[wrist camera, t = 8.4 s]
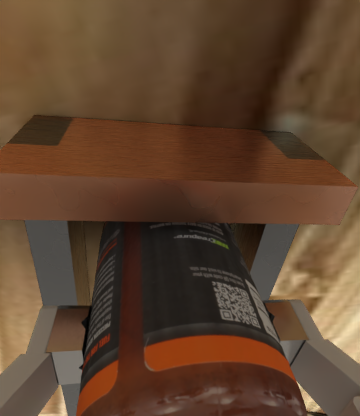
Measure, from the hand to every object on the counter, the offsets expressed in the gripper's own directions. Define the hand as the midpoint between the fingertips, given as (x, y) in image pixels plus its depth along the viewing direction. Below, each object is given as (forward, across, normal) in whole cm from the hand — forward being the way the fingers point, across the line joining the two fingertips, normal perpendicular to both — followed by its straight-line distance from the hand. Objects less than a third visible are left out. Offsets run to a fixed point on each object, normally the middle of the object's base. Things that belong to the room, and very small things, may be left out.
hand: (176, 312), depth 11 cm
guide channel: (+6, 0, +8) cm, 10 cm away
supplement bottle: (+5, 0, 0) cm, 5 cm away
